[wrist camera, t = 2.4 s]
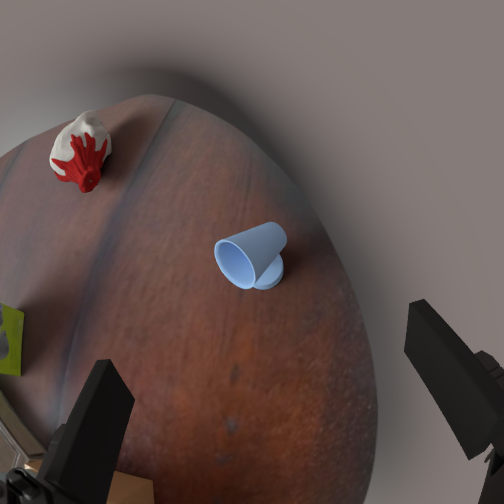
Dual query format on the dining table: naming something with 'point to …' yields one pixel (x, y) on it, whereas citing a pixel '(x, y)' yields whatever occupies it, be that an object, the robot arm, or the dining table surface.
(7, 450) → the book
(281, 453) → the dining table surface
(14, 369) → the box
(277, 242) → the spotlight
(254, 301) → the dining table surface
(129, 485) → the box stack
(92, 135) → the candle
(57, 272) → the dining table surface
